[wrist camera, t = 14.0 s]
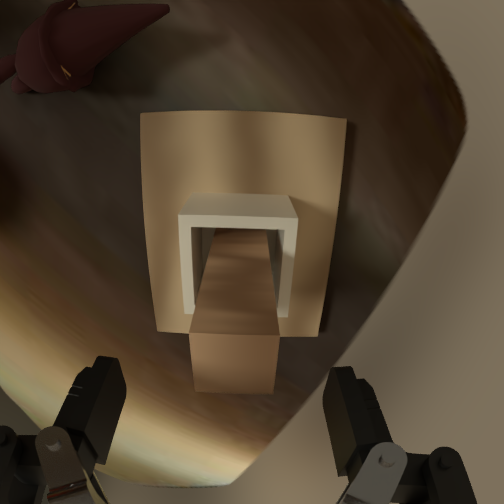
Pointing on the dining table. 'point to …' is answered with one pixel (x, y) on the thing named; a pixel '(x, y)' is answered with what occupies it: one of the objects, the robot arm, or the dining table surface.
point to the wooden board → (246, 182)
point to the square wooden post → (236, 316)
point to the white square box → (237, 216)
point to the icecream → (73, 44)
